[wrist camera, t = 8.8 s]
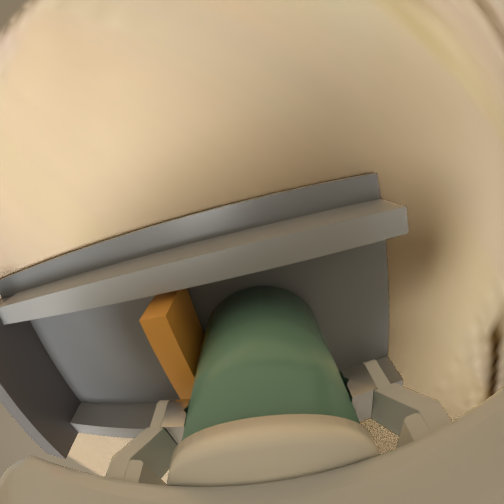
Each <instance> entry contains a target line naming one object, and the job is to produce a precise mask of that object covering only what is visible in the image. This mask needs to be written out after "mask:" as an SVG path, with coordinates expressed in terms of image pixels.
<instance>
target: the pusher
mask: <svg viewBox="0 0 504 504" xmlns="http://www.w3.org/2000/svg"><path fill="white" fill-rule="evenodd" d="M139 321H140V324H141V326H142V328H143V330H144V332H145V334H146V336H147V338H148V340H149V342H150V344H151V346H152V348H153V350H154V352H155V354H156V356H157V358H158V360H159V362H160V364H161V366H162V367H163V369H164V371H165V373H166V375H167V377H168V378H169V380H170V382H171V384H172V385H173V387H174V389H175V391H176V392H177V394H178V396H179V397H180V399H190V398H191V394H192V389H193V384H194V380H195V375H196V370H197V366H198V361H199V357H200V352H201V348H202V343H203V339H204V335H205V334H204V332H203V329H202V327H201V324H200V322H199V319H198V317H197V314H196V311H195V309H194V306H193V303H192V300H191V298H190V295H189V292H188V289H187V288H186V289H181V290H177V291H172V292H167V293H163V294H158V295H155V296H154V298H153V299H152V301H151V302H150V304H149V306H148V307H147V309H146V310H145V312H144V313H143V315H142V317H141V318H140V320H139Z"/></svg>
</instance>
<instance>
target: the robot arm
mask: <svg viewBox="0 0 504 504" xmlns="http://www.w3.org/2000/svg"><path fill="white" fill-rule="evenodd" d="M340 375H341V377H342V380H343V382H344V384H345V387H346V389H347V392H348V394H349V397H350V399H351V402H352V404H353V407H354V409H355V412H356V414H357V417H358V419H359V422H360V421H363V420H366V419H369V418H372V419H373V420H375V421H376V422H378V423H379V424H381V425H382V426H384V427H385V428H387V429H389V430H390V431H392V432H393V433H395V434H396V435H398V436H400V437H399V440H398V443H397V446H396V449H394V450H391V451H389V452H386V453H384V454H381V455H378V456H375V457H373V458H370V459H367V460H364V461H361V462H358V463H355V464H351V465H348V466H345V467H341V468H338V469H334V470H330V471H326V472H322V473H318V474H313V475H309V476H304V477H299V478H294V479H288V480H282V481H275V482H268V483H260V484H251V485H239V486H220V487H185V486H167V484H166V483H165V482H164V481H163V480H162V479H161V478H162V477H163V476H164V474H165V473H166V472H167V471H168V470H169V468H170V464H171V459H172V455H173V452H174V449H175V448H176V447H177V445H178V444H179V443H180V442H181V441H182V438H183V433H184V428H185V423H186V418H187V413H188V408H189V403H190V399H180V400H160V401H159V402H158V403H157V405H156V409H155V412H154V415H153V418H152V421H151V424H150V428H146V429H144V430H143V431H142V432H141V433H140V434H139V435H138V436H136V437H135V438H134V439H133V440H132V441H131V442H129V443H128V444H127V445H126V446H125V447H123V448H122V449H121V450H120V451H119V452H117V453H116V454H115V455H114V456H113V457H112V460H111V462H110V465H109V468H108V471H107V474H106V476H105V477H103V476H98V475H93V474H90V473H86V472H81V471H78V470H74V469H71V468H67V467H64V466H61V465H57V464H54V463H51V462H48V461H46V460H43V459H41V458H38V457H35V456H28V457H26V458H24V459H22V460H20V461H18V462H17V463H15V464H13V465H11V466H10V467H9V468H8V469H7V470H6V471H5V472H4V474H3V475H2V477H1V478H0V504H504V387H503V388H501V389H500V390H499V391H498V392H496V393H495V394H493V395H492V396H491V397H489V398H488V399H486V400H485V401H483V402H482V403H481V404H479V405H478V406H476V407H474V408H473V409H471V410H470V411H468V412H467V413H465V414H463V415H462V416H460V417H458V418H457V419H455V420H453V421H452V420H451V419H450V417H449V416H448V414H447V413H446V411H445V410H444V408H443V407H442V405H441V404H440V402H439V401H438V400H435V399H432V398H430V397H427V396H425V395H422V394H420V393H417V392H415V391H412V390H410V389H407V388H405V387H402V386H400V385H398V384H395V383H392V384H390V382H389V381H388V379H387V377H386V376H385V374H384V372H383V371H382V369H381V368H380V366H379V364H378V363H377V361H376V360H375V359H373V360H370V361H367V362H364V363H361V364H358V365H355V366H352V367H349V368H346V369H342V370H340Z"/></svg>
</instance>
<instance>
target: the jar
mask: <svg viewBox="0 0 504 504" xmlns="http://www.w3.org/2000/svg"><path fill="white" fill-rule="evenodd" d="M378 455H380V454H379V451H378V449H377V446H376V444H375V441H374V439H373V436H372V434H371V433H370V431H369V430H368V429H367V428H365V427H364V426H363V425H361V424H360V422H359V419H358V417H357V414H356V412H355V409H354V407H353V404H352V402H351V399H350V397H349V394H348V392H347V389H346V387H345V384H344V382H343V380H342V377H341V375H340V372H339V370H338V368H337V365H336V363H335V360H334V358H333V356H332V353H331V351H330V349H329V346H328V344H327V342H326V339H325V337H324V335H323V332H322V330H321V328H320V325H319V323H318V321H317V319H316V316H315V314H314V312H313V311H312V309H311V307H310V306H309V305H308V304H307V303H306V302H305V301H304V300H303V299H302V298H301V297H299V296H297V295H296V294H294V293H292V292H290V291H287V290H284V289H281V288H276V287H267V286H262V287H252V288H247V289H244V290H241V291H238V292H236V293H234V294H232V295H230V296H228V297H227V298H225V299H224V300H223V301H222V302H220V304H219V305H218V306H217V307H216V308H215V309H214V310H213V312H212V313H211V315H210V317H209V320H208V322H207V326H206V330H205V335H204V339H203V343H202V348H201V352H200V357H199V361H198V366H197V370H196V375H195V380H194V384H193V389H192V394H191V398H190V403H189V408H188V413H187V418H186V423H185V428H184V433H183V438H182V441H181V442H180V443H179V444H178V445H177V447H176V448H175V449H174V452H173V455H172V459H171V464H170V469H169V474H168V479H167V486H185V487H220V486H239V485H251V484H260V483H268V482H275V481H282V480H288V479H294V478H299V477H304V476H309V475H313V474H318V473H322V472H326V471H330V470H334V469H338V468H341V467H345V466H348V465H351V464H355V463H358V462H361V461H364V460H367V459H370V458H373V457H375V456H378Z"/></svg>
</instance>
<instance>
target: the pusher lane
mask: <svg viewBox="0 0 504 504" xmlns="http://www.w3.org/2000/svg"><path fill="white" fill-rule="evenodd" d="M405 234H409V229H408V217H407V207H406V206H403V205H400V204H397V203H393V202H390V201H387V200H383V199H381V196H380V189H379V183H378V177H377V173H369V174H364V175H358V176H353V177H347V178H342V179H337V180H332V181H327V182H322V183H318V184H313V185H308V186H303V187H299V188H294V189H290V190H285V191H281V192H277V193H272V194H268V195H264V196H260V197H255V198H251V199H247V200H243V201H239V202H235V203H231V204H227V205H224V206H220V207H216V208H212V209H208V210H205V211H201V212H197V213H194V214H190V215H186V216H183V217H179V218H176V219H172V220H169V221H165V222H162V223H159V224H155V225H152V226H149V227H145V228H142V229H139V230H136V231H132V232H129V233H126V234H123V235H120V236H117V237H114V238H110V239H107V240H104V241H101V242H98V243H95V244H92V245H89V246H87V247H84V248H81V249H78V250H75V251H72V252H69V253H66V254H64V255H61V256H58V257H55V258H53V259H50V260H47V261H45V262H42V263H39V264H37V265H34V266H31V267H29V268H26V269H24V270H21V271H19V272H16V273H14V274H11V275H9V276H6V277H4V278H2V279H0V295H1V297H2V298H1V299H0V401H1V403H2V404H3V405H4V407H5V408H6V409H7V410H8V412H9V413H10V414H11V415H12V417H13V418H14V419H15V420H16V421H17V422H18V424H19V425H20V426H21V427H22V428H23V429H24V430H25V432H26V433H27V434H28V435H29V436H30V437H31V438H32V439H33V440H34V441H35V442H36V443H37V444H38V445H39V446H40V447H41V448H42V449H43V450H44V451H45V452H46V453H48V454H51V455H54V456H57V457H61V458H64V459H66V457H67V455H68V453H69V451H70V449H71V446H72V444H73V442H74V440H75V438H76V436H77V434H78V433H85V434H92V435H100V436H110V437H121V438H135V437H136V436H138V435H139V434H140V433H141V432H142V431H143V430H144V429H146V428H150V424H151V421H152V418H153V415H154V412H155V409H156V405H157V403H158V402H159V401H160V400H180V397H179V396H178V394H177V392H176V391H175V389H174V387H173V385H172V384H171V382H170V380H169V378H168V377H167V375H166V373H165V371H164V369H163V367H162V366H161V364H160V362H159V360H158V358H157V356H156V354H155V352H154V350H153V348H152V346H151V344H150V342H149V340H148V338H147V336H146V334H145V332H144V330H143V328H142V326H141V324H140V321H139V320H140V318H141V317H142V315H143V313H144V312H145V310H146V309H147V307H148V306H149V304H150V302H151V301H152V299H153V298H154V296H155V295H158V294H163V293H167V292H172V291H177V290H181V289H186V288H187V289H188V292H189V295H190V298H191V300H192V303H193V306H194V309H195V311H196V314H197V317H198V319H199V322H200V324H201V327H202V329H203V332H204V334H205V330H206V326H207V322H208V320H209V317H210V315H211V313H212V312H213V310H214V309H215V308H216V307H217V306H218V305H219V304H220V302H222V301H223V300H224V299H225V298H227V297H228V296H230V295H232V294H234V293H236V292H238V291H241V290H244V289H247V288H252V287H262V286H267V287H276V288H281V289H284V290H287V291H290V292H292V293H294V294H296V295H297V296H299V297H301V298H302V299H303V300H304V301H305V302H306V303H307V304H308V305H309V306H310V307H311V309H312V311H313V312H314V314H315V316H316V319H317V321H318V323H319V325H320V328H321V330H322V332H323V335H324V337H325V339H326V342H327V344H328V346H329V349H330V351H331V353H332V356H333V358H334V360H335V363H336V365H337V368H338V370H339V372H340V370H342V369H346V368H349V367H352V366H355V365H358V364H361V363H364V362H367V361H370V360H373V359H375V360H376V361H377V363H378V364H379V366H380V368H381V369H382V371H383V372H384V374H385V376H386V377H387V379H388V381H389V382H390V384H392V383H395V384H398V385H400V386H402V384H403V379H402V377H401V375H400V374H399V372H398V371H397V369H396V368H395V366H394V365H393V363H392V362H391V360H390V359H389V357H388V336H389V288H388V265H387V250H386V239H390V238H394V237H398V236H401V235H405Z"/></svg>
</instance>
